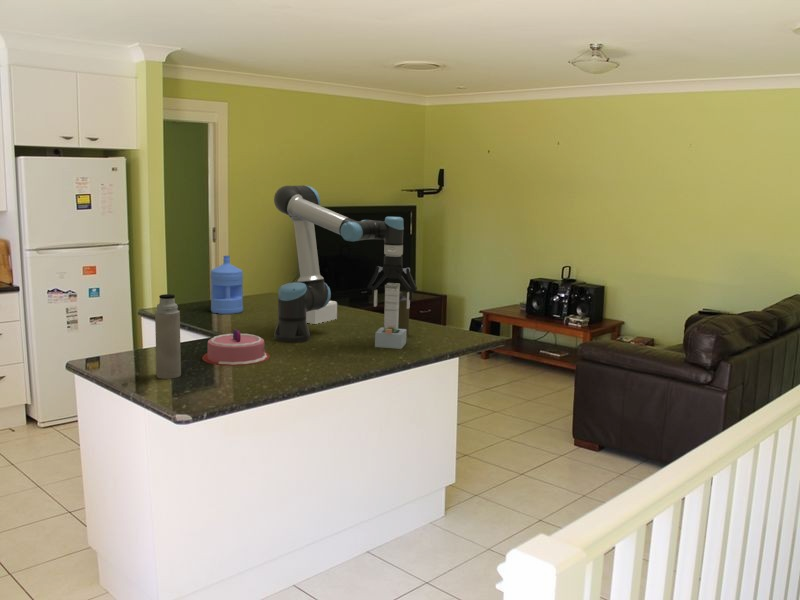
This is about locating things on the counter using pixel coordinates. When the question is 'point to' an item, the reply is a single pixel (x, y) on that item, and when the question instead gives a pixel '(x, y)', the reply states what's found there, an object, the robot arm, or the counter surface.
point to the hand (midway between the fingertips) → (391, 307)
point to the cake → (236, 350)
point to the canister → (403, 313)
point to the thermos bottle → (167, 338)
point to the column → (391, 306)
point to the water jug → (226, 288)
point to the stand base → (390, 338)
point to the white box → (322, 314)
